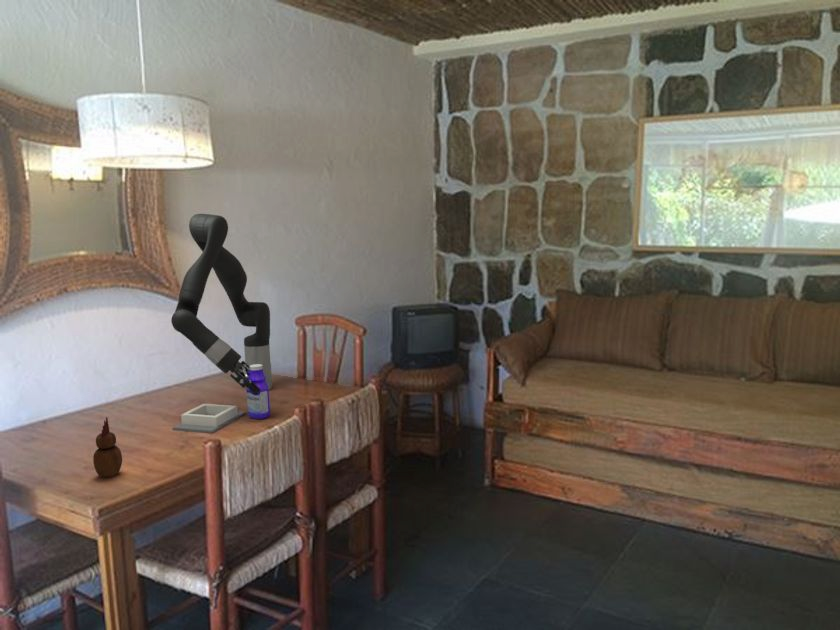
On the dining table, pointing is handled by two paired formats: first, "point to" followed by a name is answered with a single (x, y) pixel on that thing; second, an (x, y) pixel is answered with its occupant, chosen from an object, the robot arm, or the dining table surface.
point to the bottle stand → (208, 418)
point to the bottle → (259, 402)
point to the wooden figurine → (107, 453)
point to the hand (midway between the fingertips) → (260, 389)
